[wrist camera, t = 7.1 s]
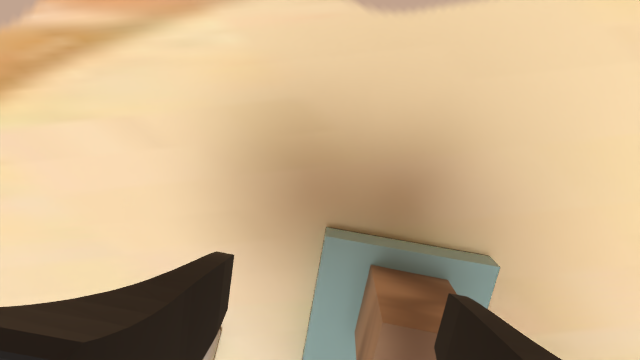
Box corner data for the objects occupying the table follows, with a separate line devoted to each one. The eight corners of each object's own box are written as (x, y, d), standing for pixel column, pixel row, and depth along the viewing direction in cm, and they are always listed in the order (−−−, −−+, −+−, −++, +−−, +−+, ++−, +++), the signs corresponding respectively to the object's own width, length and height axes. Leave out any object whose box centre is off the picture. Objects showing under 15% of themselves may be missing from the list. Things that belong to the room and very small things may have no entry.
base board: (489, 256, 21) (500, 267, 20) (448, 393, 24) (456, 412, 22) (326, 227, 22) (325, 236, 20) (300, 366, 24) (298, 383, 22)
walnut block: (447, 279, 20) (487, 343, 15) (428, 347, 21) (458, 429, 16) (370, 264, 20) (382, 322, 15) (354, 332, 21) (360, 410, 16)
